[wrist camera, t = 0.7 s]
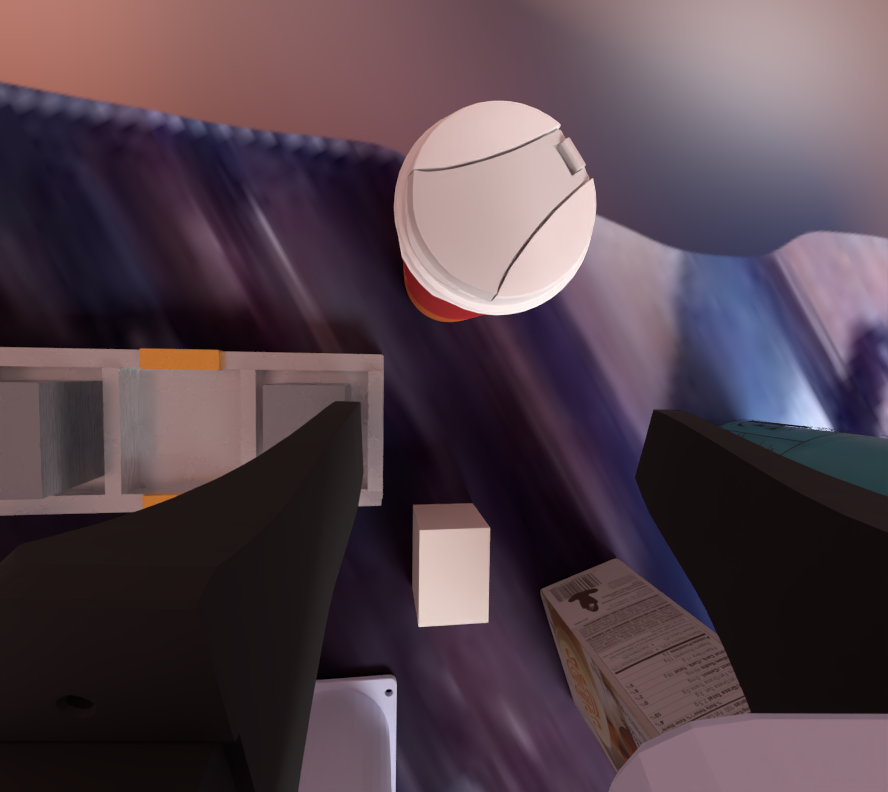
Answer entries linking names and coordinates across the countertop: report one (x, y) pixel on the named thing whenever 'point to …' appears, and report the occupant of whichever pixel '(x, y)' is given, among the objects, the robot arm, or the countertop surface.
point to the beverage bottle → (823, 451)
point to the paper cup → (492, 212)
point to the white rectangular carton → (450, 564)
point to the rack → (163, 420)
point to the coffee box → (636, 659)
